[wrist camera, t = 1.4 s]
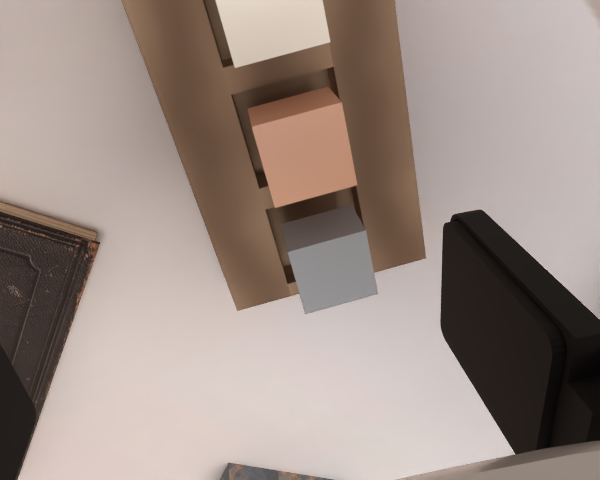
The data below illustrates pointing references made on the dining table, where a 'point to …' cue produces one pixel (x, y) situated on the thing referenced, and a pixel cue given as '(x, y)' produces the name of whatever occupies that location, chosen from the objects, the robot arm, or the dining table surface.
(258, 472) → the architectural model on board
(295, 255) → the slate key
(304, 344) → the dining table surface
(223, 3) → the cream key
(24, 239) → the hardcover book
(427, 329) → the dining table surface
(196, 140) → the wooden key base
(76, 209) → the dining table surface
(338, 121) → the terracotta key
